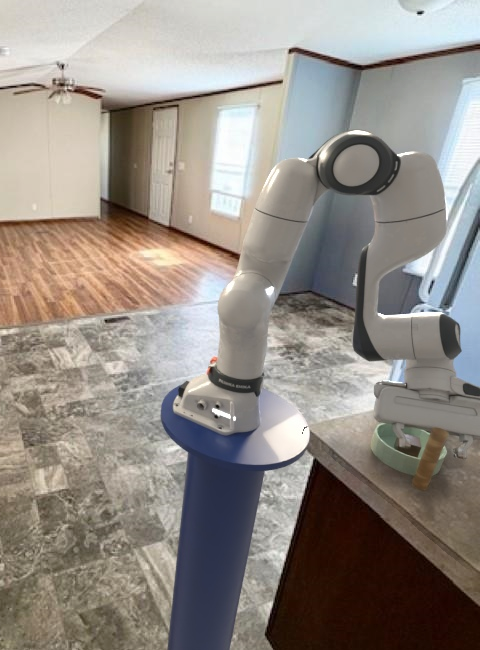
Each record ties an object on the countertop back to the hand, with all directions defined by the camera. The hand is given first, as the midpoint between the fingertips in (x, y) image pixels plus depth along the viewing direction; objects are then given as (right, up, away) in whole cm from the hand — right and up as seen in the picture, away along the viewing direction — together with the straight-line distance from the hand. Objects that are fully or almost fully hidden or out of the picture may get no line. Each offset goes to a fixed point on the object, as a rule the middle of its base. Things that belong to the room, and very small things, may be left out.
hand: (432, 452), depth 85 cm
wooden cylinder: (0, -8, +3) cm, 9 cm away
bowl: (+3, -4, +12) cm, 13 cm away
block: (+3, -4, +11) cm, 12 cm away
